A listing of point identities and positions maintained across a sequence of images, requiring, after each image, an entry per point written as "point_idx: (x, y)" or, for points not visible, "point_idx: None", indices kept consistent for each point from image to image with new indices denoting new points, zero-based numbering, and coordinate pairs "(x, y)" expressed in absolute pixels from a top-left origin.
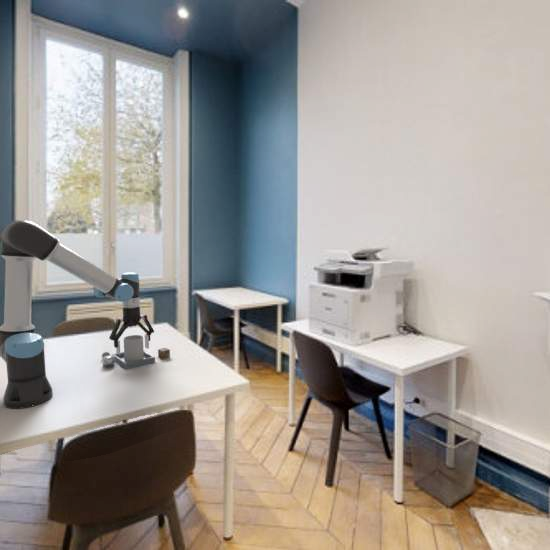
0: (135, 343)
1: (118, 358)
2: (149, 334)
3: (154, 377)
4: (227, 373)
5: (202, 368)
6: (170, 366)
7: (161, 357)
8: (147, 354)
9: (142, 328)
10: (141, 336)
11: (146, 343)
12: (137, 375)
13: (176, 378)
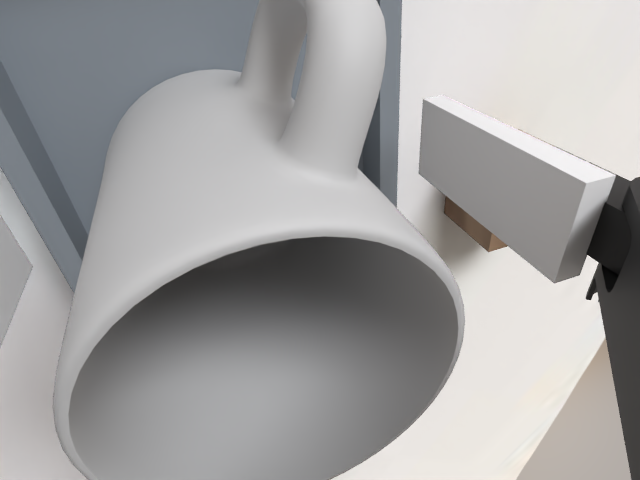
0: (266, 443)
1: (12, 176)
2: (606, 268)
3: None
4: (520, 451)
5: (500, 403)
6: None
7: (452, 208)
8: (377, 168)
9: (628, 456)
10: (448, 338)
11: (458, 178)
12: None
13: (356, 474)
